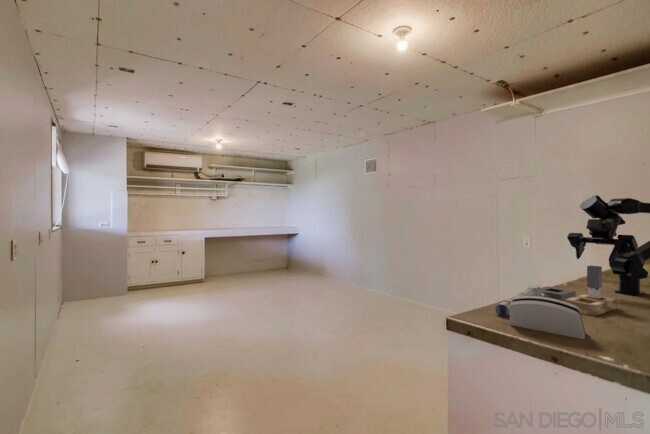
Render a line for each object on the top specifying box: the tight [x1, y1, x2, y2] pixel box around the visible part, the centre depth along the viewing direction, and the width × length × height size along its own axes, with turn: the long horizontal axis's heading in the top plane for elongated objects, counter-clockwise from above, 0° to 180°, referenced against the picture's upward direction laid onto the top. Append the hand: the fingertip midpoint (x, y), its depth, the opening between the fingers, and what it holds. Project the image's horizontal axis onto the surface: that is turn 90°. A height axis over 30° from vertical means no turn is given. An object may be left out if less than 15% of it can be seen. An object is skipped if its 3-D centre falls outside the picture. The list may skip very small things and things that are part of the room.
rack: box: [564, 293, 618, 317], centre depth 103 cm, size 14×8×3 cm, turn 118°
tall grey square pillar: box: [586, 264, 603, 300], centre depth 105 cm, size 3×3×13 cm
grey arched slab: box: [508, 296, 587, 340], centre depth 86 cm, size 17×5×10 cm, turn 47°
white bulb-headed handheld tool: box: [494, 284, 544, 318], centre depth 106 cm, size 5×7×25 cm
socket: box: [540, 286, 577, 301], centre depth 115 cm, size 9×9×3 cm
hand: (592, 259), depth 114 cm, fingers open, 9 cm apart
